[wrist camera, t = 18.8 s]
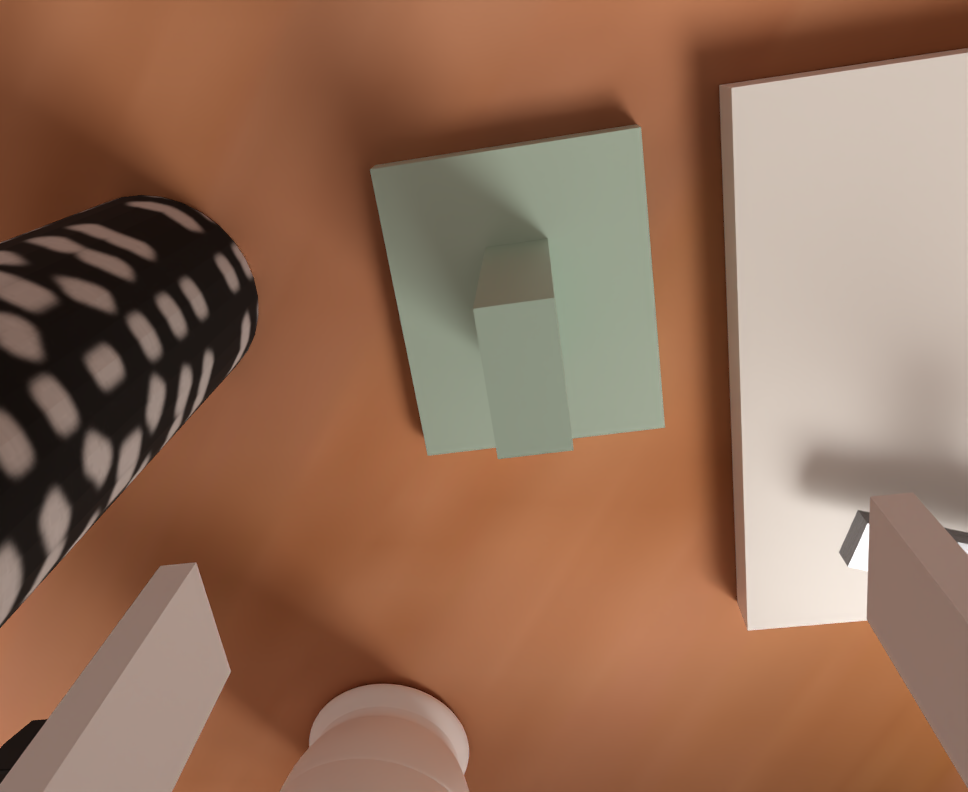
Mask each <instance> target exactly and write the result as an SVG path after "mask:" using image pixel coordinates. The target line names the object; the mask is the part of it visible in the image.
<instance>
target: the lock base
mask: <svg viewBox="0 0 968 792" xmlns="http://www.w3.org/2000/svg"><path fill="white" fill-rule="evenodd" d="M719 96H720V124H721V153H722V181H723V210H724V238H725V267H726V295H727V324H728V352H729V380H730V409H731V437H732V466H733V494H734V523H735V551H736V580H737V603H738V606H739V609H740V611H741V614H742V617H743V619H744V622H745V625H746V627H747V630H760V629H772V628H783V627H795V626H807V625H819V624H831V623H842V622H854V621H866V620H867V584H868V571H865V570H860V569H855V568H850V567H847V565H846V563H845V562H844V560H843V558H842V557H841V555H840V553H839V551H840V549H841V546H842V544H843V542H844V540H845V537H846V535H847V533H848V531H849V529H850V526H851V524H852V522H853V520H854V517H855V515H856V513H857V511H858V510H861V511H866V512H870V497H871V496H881V495H891V494H901V493H912V492H913V493H914V494H915V495H916V496H917V498H918V499H919V500H920V501H921V502H922V503H923V504H924V505H925V507H926V508H927V509H928V510H929V511H930V512H931V513H932V515H933V516H934V517H935V518H936V519H937V520H938V521H939V523H940V524H941V525H942V526H943V527H944V528H948V529H953V530H958V531H963V532H968V48H964V49H957V50H950V51H944V52H937V53H930V54H924V55H917V56H910V57H903V58H897V59H890V60H883V61H877V62H870V63H863V64H857V65H850V66H843V67H837V68H830V69H823V70H817V71H810V72H803V73H797V74H790V75H783V76H776V77H770V78H763V79H756V80H750V81H743V82H736V83H730V84H723V85H719Z"/></svg>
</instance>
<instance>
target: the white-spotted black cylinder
mask: <svg viewBox="0 0 968 792" xmlns="http://www.w3.org/2000/svg"><path fill="white" fill-rule="evenodd" d="M257 320H258V295H257V291H256V286H255V282H254V278H253V275H252V273H251V271H250V268H249V266H248V264H247V261H246V259H245V258H244V256H243V255H242V253H241V252H240V250H239V249H238V247H237V245H236V244H235V242H234V241H233V240H232V239H231V238H230V237H229V236H228V235H227V234H226V233H225V232H224V231H223V229H222V228H221V227H220V226H219V225H217V224H216V223H215V222H213V221H212V220H211V219H209V218H208V217H207V216H205V215H204V214H203V213H201V212H199V211H197V210H195V209H193V208H191V207H189V206H187V205H185V204H183V203H180V202H177V201H174V200H170V199H167V198H163V197H156V196H146V195H138V196H129V197H121V198H118V199H115V200H112V201H109V202H106V203H103V204H101V205H98V206H95V207H93V208H90V209H88V210H85V211H82V212H80V213H77V214H74V215H72V216H69V217H66V218H64V219H61V220H59V221H56V222H53V223H51V224H48V225H45V226H43V227H40V228H38V229H35V230H32V231H30V232H27V233H24V234H22V235H19V236H16V237H14V238H11V239H9V240H6V241H3V242H1V243H0V628H1V627H2V625H3V624H4V623H5V622H6V621H7V620H8V619H9V618H10V617H11V615H12V614H13V613H14V612H15V611H16V610H17V609H18V608H19V607H20V605H21V604H22V603H23V602H24V601H25V600H26V599H27V598H28V597H29V595H30V594H31V593H32V592H33V591H34V590H35V589H36V588H37V587H38V585H39V584H40V583H41V582H42V581H43V580H44V579H45V578H46V577H47V575H48V574H49V573H50V572H51V571H52V570H53V569H54V568H55V567H56V565H57V564H58V563H59V562H60V561H61V560H62V559H63V558H64V557H65V555H66V554H67V553H68V552H69V551H70V550H71V549H72V548H73V547H74V545H75V544H76V543H77V542H78V541H79V540H80V539H81V538H82V537H83V535H84V534H85V533H86V532H87V531H88V530H89V529H90V528H91V527H92V525H93V524H94V523H95V522H96V521H97V520H98V519H99V518H100V517H101V515H102V514H103V513H104V512H105V511H106V510H107V509H108V508H109V507H110V505H111V504H112V503H113V502H114V501H115V500H116V499H117V498H118V497H119V495H120V494H121V493H122V492H123V491H124V490H125V489H126V488H127V487H128V485H129V484H130V483H131V482H132V481H133V480H134V479H135V478H136V477H137V475H138V474H139V473H140V472H141V471H142V470H143V469H144V468H145V467H146V465H147V464H148V463H149V462H150V461H151V460H152V459H153V458H154V457H155V455H156V454H157V453H158V452H159V451H160V450H161V449H162V448H163V447H164V445H165V444H166V443H167V442H168V441H169V440H170V439H171V438H172V437H173V435H174V434H175V433H176V432H177V431H178V430H179V429H180V428H181V427H182V425H183V424H184V423H185V422H186V421H187V420H188V419H189V418H190V417H191V415H192V414H193V413H194V412H195V411H196V410H197V409H198V408H199V407H200V405H201V404H202V403H203V402H204V401H205V400H206V399H207V398H208V397H209V395H210V394H211V393H212V392H213V391H214V390H215V389H216V388H217V387H218V385H219V384H220V383H221V382H222V381H223V380H224V379H225V378H226V377H227V375H228V374H229V373H230V372H231V371H232V370H233V369H234V368H235V367H236V365H237V364H238V363H239V362H240V360H241V359H242V358H243V356H244V355H245V353H246V352H247V351H248V349H249V347H250V344H251V342H252V340H253V337H254V335H255V331H256V326H257Z"/></svg>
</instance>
